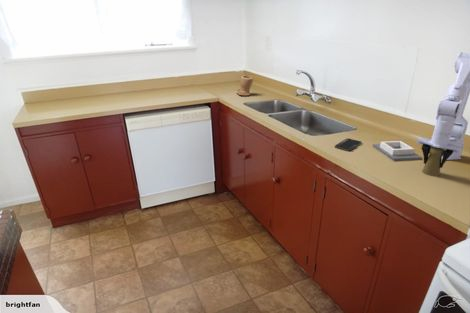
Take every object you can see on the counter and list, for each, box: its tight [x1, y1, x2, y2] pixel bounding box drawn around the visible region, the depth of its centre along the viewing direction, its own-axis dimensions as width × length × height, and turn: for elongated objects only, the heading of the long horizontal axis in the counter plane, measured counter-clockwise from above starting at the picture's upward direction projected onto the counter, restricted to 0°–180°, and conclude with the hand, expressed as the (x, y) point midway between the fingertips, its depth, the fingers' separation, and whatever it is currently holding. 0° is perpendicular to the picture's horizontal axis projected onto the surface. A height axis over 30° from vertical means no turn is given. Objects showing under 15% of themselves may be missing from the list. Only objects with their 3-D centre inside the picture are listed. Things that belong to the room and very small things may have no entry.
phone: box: [334, 138, 363, 152], centre depth 150 cm, size 8×1×15 cm
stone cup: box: [235, 75, 254, 97], centre depth 249 cm, size 15×12×15 cm
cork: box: [421, 146, 445, 177], centre depth 122 cm, size 6×6×11 cm
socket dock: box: [372, 140, 422, 162], centre depth 142 cm, size 13×17×4 cm
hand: (433, 164), depth 122 cm, fingers closed on cork, 5 cm apart
